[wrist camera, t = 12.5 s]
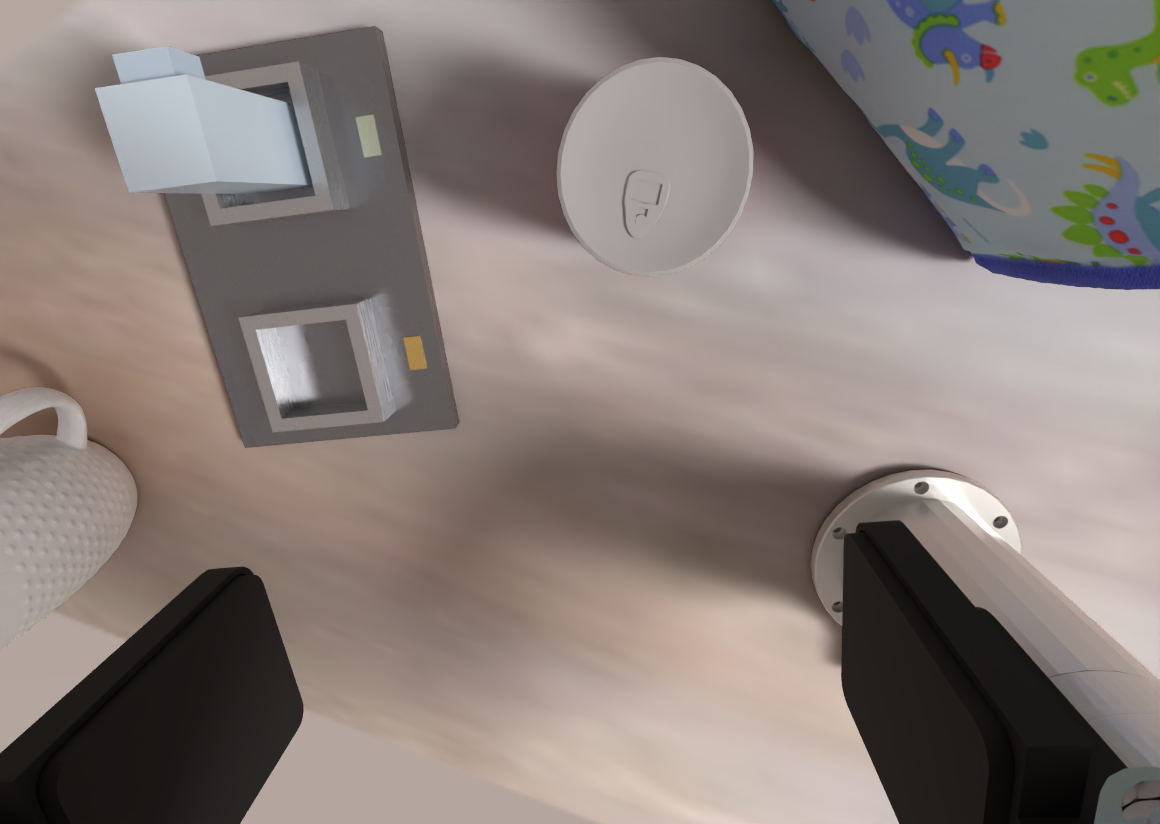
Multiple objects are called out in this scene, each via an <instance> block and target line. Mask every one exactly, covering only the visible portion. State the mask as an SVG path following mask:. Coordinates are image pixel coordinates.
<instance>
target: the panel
mask: <svg viewBox="0 0 1160 824" xmlns="http://www.w3.org/2000/svg"><path fill="white" fill-rule="evenodd" d="M197 56H199V57H200V61H201V65H202V68H203V72H204V76H205V79H206V80H208V81H212V82H215V83H219V84H223V85H226V86H230V87H233V88H237V89H240V90H244V91H247V92H251V93H255V94H258V95H262V96H265V97H269V98H272V99H276V100H279V101H283V102H286V103H290V104H293V105H294V110H295V114H296V118H297V122H298V126H299V130H300V134H301V138H302V142H303V146H304V150H305V155H306V159H307V163H308V167H309V171H310V175H311V179H312V183H313V186H309V187H301V188H293V189H285V190H278V191H270V192H262V193H254V194H199V193H164V194H165V198H166V201H167V204H168V207H169V210H170V213H171V217H172V220H173V223H174V226H175V229H176V232H177V235H178V239H179V242H180V245H181V248H182V251H183V254H184V257H185V261H186V264H187V267H188V270H189V273H190V276H191V279H192V283H193V286H194V289H195V292H196V295H197V298H198V301H199V305H200V308H201V311H202V314H203V317H204V320H205V323H206V327H207V330H208V333H209V336H210V339H211V342H212V345H213V349H214V352H215V355H216V358H217V361H218V364H219V367H220V371H221V374H222V377H223V380H224V383H225V386H226V390H227V393H228V396H229V399H230V402H231V405H232V408H233V412H234V415H235V418H236V421H237V424H238V427H239V430H240V434H241V437H242V440H243V443H244V446H245V448H248V447H259V446H270V445H281V444H291V443H302V442H313V441H324V440H335V439H345V438H356V437H367V436H378V435H389V434H399V433H410V432H421V431H432V430H443V429H453V428H456V426H457V425H458V424H459V420H458V415H457V410H456V405H455V400H454V395H453V390H452V384H451V379H450V374H449V369H448V364H447V359H446V354H445V349H444V344H443V339H442V333H441V328H440V323H439V318H438V313H437V308H436V303H435V298H434V293H433V288H432V282H431V277H430V272H429V267H428V262H427V257H426V252H425V247H424V242H423V236H422V231H421V226H420V221H419V216H418V211H417V206H416V201H415V196H414V191H413V185H412V180H411V175H410V170H409V165H408V160H407V155H406V150H405V145H404V139H403V134H402V129H401V124H400V119H399V114H398V109H397V104H396V99H395V94H394V88H393V83H392V78H391V73H390V68H389V63H388V58H387V53H386V48H385V42H384V37H383V32H382V31H381V30H380V29H378V28H377V27H375V26H373V27H367V28H361V29H355V30H349V31H343V32H337V33H331V34H325V35H319V36H312V37H306V38H300V39H294V40H288V41H282V42H276V43H270V44H264V45H258V46H252V47H246V48H239V49H233V50H227V51H221V52H215V53H209V54H203V55H197Z"/></svg>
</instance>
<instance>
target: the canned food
mask: <svg viewBox="0 0 1160 824" xmlns="http://www.w3.org/2000/svg"><path fill="white" fill-rule="evenodd" d="M752 176H753V145H752V139H751V134H750V128H749V126H748V123H747V121H746V118H745V115H744V113H743V110H742V108H741V106H740V105H739V103H738V102H737V100H736V99H735V97H734V95H733V94H732V92H731V91H730V90H729V89H728V88H727V87H726V86H725V85H724V84H723V83H722V82H721V81H720V80H719V79H718V78H717V77H716V76H715V75H713V74H712V73H710V72H708V71H707V70H705V69H704V68H702V67H700V66H699V65H696V64H693V63H690V62H687V61H684V60H681V59H676V58H665V57H655V58H648V59H640V60H637V61H634V62H631V63H629V64H626V65H623V66H621V67H619V68H617V69H615V70H614V71H612V72H611V73H609V74H608V75H606V76H604V77H603V78H601V79H600V80H599V81H598V82H597V83H596V84H595V85H594V86H593V87H592V88H591V89H590V90H589V91H588V92H587V93H586V94H585V95H584V97H583V98H582V99H581V101H580V102H579V104H578V105H577V107H576V108H575V109H574V111H573V113H572V115H571V117H570V119H569V121H568V123H567V125H566V128H565V130H564V133H563V136H562V140H561V144H560V147H559V151H558V160H557V171H556V177H557V188H558V196H559V200H560V204H561V207H562V211H563V215H564V217H565V219H566V221H567V223H568V225H569V227H570V229H571V231H572V233H573V234H574V236H575V237H576V238H577V240H578V241H579V242H580V244H581V245H582V246H583V248H585V249H586V250H587V251H588V252H589V253H590V254H591V255H592V256H593V257H595V258H596V259H597V260H598V261H600V262H602V263H603V264H605V265H607V266H609V267H610V268H612V269H614V270H617V271H620V272H623V273H626V274H630V275H638V276H647V277H650V276H660V275H668V274H671V273H674V272H678V271H681V270H684V269H686V268H688V267H690V266H692V265H694V264H696V263H697V262H699V261H701V260H703V259H704V258H705V257H706V256H708V255H709V254H710V253H711V252H713V251H714V250H715V249H716V248H717V247H718V246H719V245H720V244H721V243H722V242H723V240H724V239H725V238H726V237H727V236H728V235H729V233H730V232H731V231H732V229H733V227H734V226H735V224H736V222H737V221H738V219H739V217H740V216H741V214H742V211H743V209H744V206H745V203H746V201H747V198H748V195H749V192H750V187H751V181H752Z"/></svg>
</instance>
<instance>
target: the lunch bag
mask: <svg viewBox="0 0 1160 824" xmlns="http://www.w3.org/2000/svg"><path fill="white" fill-rule="evenodd" d="M773 2H774V3H775V5H776V6H777V7H778V9H779V10H780V12H781V13H782V14H783V16H784V18H785V19H786V21H787V23H788V24H789V26H790V27H791V29H792V31H793V32H794V34H795V35H796V37H797V38H798V39H799V40H800V42H802V43H803V44H804V45H805V46H806V47H807V48H808V49H810V50H811V51H812V53H813V54H814V55H815V56H816V57H817V58H818V59H819V61H820V62H821V63H822V65H823V66H824V67H825V68H826V70H827V71H828V72H829V73H830V75H831V76H832V77H833V78H834V79H835V80H836V82H837V83H838V84H839V85H840V86H841V88H842V89H843V90H844V91H845V92H846V93H847V94H848V95H849V96H850V98H851V99H852V100H853V101H854V102H855V103H856V104H857V105H858V107H859V108H860V109H861V110H862V112H863V113H864V115H865V116H866V118H867V120H868V121H869V123H870V124H871V126H872V127H873V128H874V129H875V130H876V132H877V133H878V134H879V135H880V136H881V138H882V139H883V140H884V142H885V143H886V145H887V146H888V147H889V149H890V150H891V151H892V152H893V154H894V155H895V156H896V158H897V159H898V160H899V162H900V163H901V164H902V166H903V167H904V168H905V170H906V171H907V172H908V173H909V175H910V176H911V177H912V178H913V179H914V180H915V181H916V183H917V184H918V185H919V186H920V188H921V189H922V191H923V192H924V194H925V195H926V197H927V198H928V199H929V200H930V201H931V202H932V204H933V205H934V207H935V208H936V209H937V211H938V212H939V213H940V215H941V216H942V217H943V219H944V220H945V221H946V222H947V224H948V225H949V226H950V228H951V229H952V231H953V232H954V234H955V236H956V237H957V239H958V240H959V242H960V244H961V246H962V248H963V249H964V250H967V251H970V252H971V255H972V256H973V257H974V259H975V261H976V263H977V264H978V265H980V266H982V267H984V268H986V269H988V270H989V271H990V272H992V273H996V274H1003V275H1006V276H1010V277H1014V278H1022V279H1025V280H1032V281H1037V282H1041V283H1053V284H1062V285H1067V286H1076V287H1092V288H1104V289H1124V290H1132V289H1160V0H773Z"/></svg>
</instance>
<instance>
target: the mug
mask: <svg viewBox="0 0 1160 824" xmlns="http://www.w3.org/2000/svg"><path fill="white" fill-rule="evenodd" d="M51 407H54V408H55V410H56V412H57V415H58V429H57V435H30V436H15V437H10V438H0V649H2V648H4V647H6V646H7V645H8V644H9V643H10V642H11V641H13V640H14V639H15V638H17V637H19V636H21V635H23V633H25V632H26V631H28V630H29V629H30V628H31V627H32V626H33V625H35V624H36V623H37V622H38V621H40V620H42V619H44V618H46V617H47V616H48V615H49V614H50V613H51V612H52V611H53V610H54V609H56V608H57V607H59V606H60V605H61V604H62V603H64V602H65V601H66V600H67V599H69V598H70V596H71V595H72V594H73V593H75V592H76V591H78V590H79V589H81V588H82V587H83V585H84V584H85V583H86V582H87V581H88V580H89V579H90V578H91V577H93V576H94V575H95V574H96V573H97V572H98V570H99V569H100V567H101V566H102V565H103V564H105V563H106V562H107V561H108V560H109V558H110V557H111V555H112V554H113V552H114V551H116V550H117V548H118V547H119V546H120V543H121V541H122V540H123V539H124V538H125V536H126V535H127V532H128V529H129V528H130V525H131V523H132V520H133V518H134V515H135V511H136V507H137V488H136V484H135V481H134V478H133V476H132V474H131V473H130V471H129V470H128V468H127V467H126V465H125V464H124V463H123V462H122V461H121V459H120V458H118V457H117V456H116V455H115V454H114V453H112V452H111V451H110V450H108V449H106V448H105V447H103V446H101V445H99V444H97V443H94V442H92V441H88V440H87V423H86V419H85V415H84V412H83V410H82V408H81V407H80V405H79V404H78V403H77V402H76V401H75V400H74V399H73V398H71V397H70V396H68V395H66V394H65V393H63V392H60V391H58V390H55V389H51V388H45V387H31V388H24V389H20V390H16V391H13V392H9V393H7V394H4V395H2V396H0V435H1V434H2V433H3V432H4V431H6V430H7V429H8V428H10V427H11V426H12V425H14V424H16V423H17V422H19V421H20V420H22V419H24V418H25V417H27V416H29V415H31V414H33V413H35V412H38V411H40V410H43V409H46V408H51Z"/></svg>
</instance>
